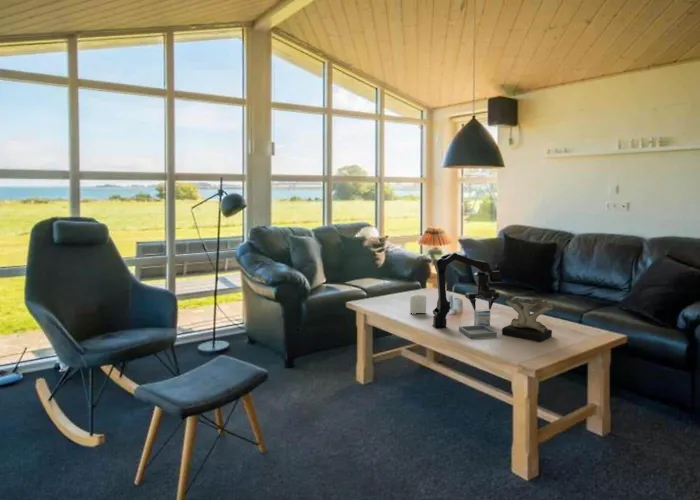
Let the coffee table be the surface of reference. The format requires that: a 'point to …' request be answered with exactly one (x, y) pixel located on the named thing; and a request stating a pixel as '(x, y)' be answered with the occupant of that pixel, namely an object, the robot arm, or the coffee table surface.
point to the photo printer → (417, 303)
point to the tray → (477, 331)
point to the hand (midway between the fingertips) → (482, 309)
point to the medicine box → (482, 317)
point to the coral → (528, 320)
